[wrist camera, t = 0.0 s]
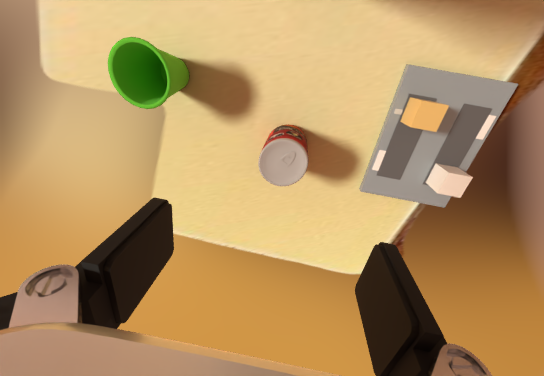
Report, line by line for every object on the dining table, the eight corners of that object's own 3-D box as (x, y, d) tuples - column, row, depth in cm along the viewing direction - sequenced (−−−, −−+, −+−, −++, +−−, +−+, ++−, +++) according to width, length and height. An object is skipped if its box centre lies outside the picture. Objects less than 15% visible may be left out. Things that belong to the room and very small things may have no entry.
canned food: (314, 134, 45) (317, 152, 35) (294, 168, 48) (293, 194, 39) (277, 116, 44) (271, 129, 34) (260, 152, 48) (250, 174, 38)
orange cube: (410, 97, 39) (422, 100, 35) (434, 101, 39) (449, 105, 35) (400, 121, 41) (410, 127, 37) (423, 125, 41) (436, 132, 37)
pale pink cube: (435, 163, 43) (448, 172, 39) (457, 167, 43) (472, 177, 39) (425, 182, 45) (437, 193, 41) (446, 186, 45) (460, 197, 41)
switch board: (406, 64, 38) (409, 64, 37) (512, 83, 38) (519, 84, 37) (359, 188, 49) (360, 191, 48) (441, 204, 48) (445, 207, 47)
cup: (202, 52, 41) (171, 47, 31) (197, 105, 45) (169, 116, 35) (151, 37, 40) (104, 28, 31) (151, 92, 45) (109, 99, 35)
